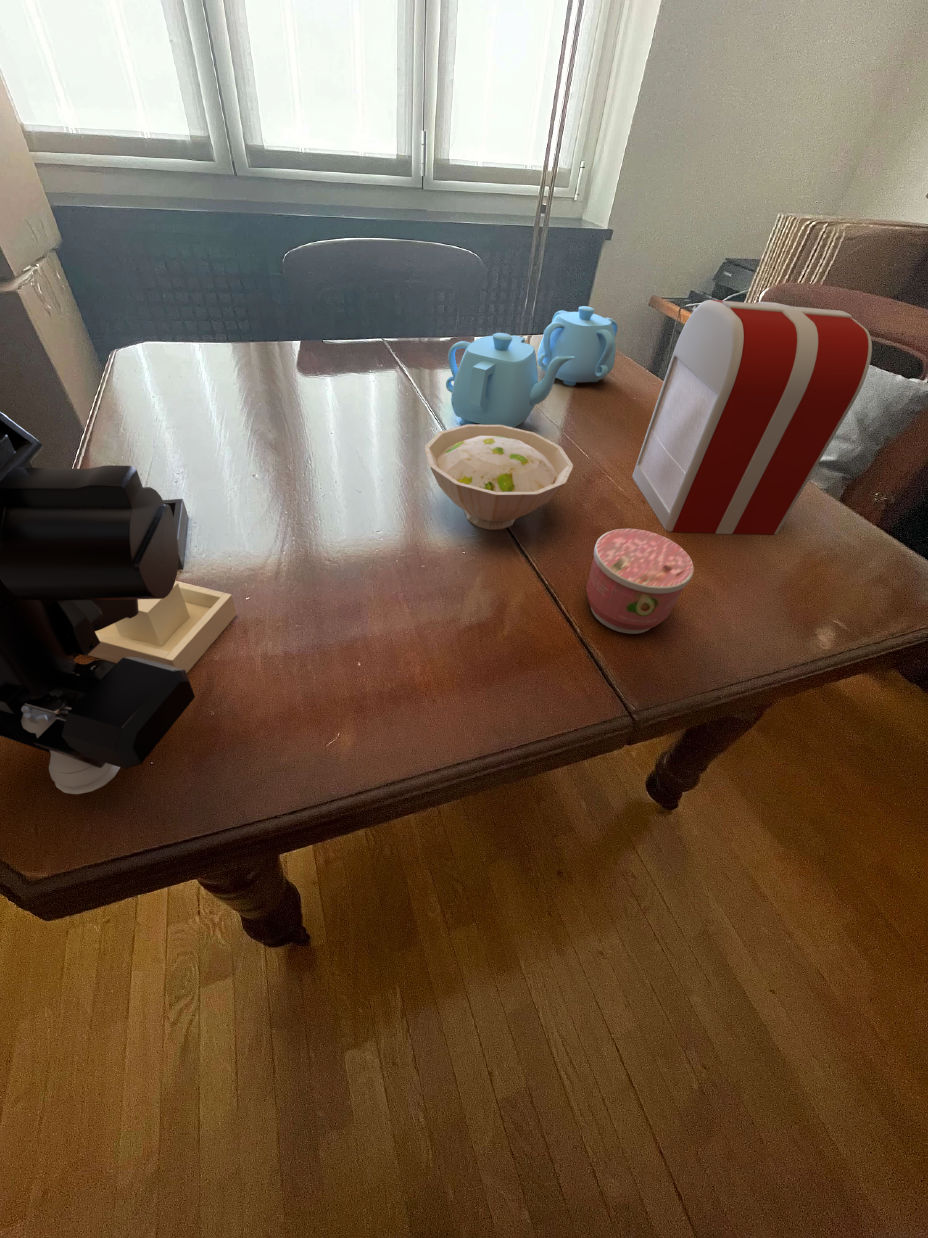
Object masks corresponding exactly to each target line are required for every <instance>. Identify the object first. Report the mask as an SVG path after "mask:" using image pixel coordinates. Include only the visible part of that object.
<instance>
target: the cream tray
mask: <svg viewBox="0 0 928 1238" xmlns="http://www.w3.org/2000/svg"><path fill="white" fill-rule="evenodd" d="M175 582H176V583H178V584H179V587H180V590H181V593H182V596H183V598H184V601H185V604H186V607H187V610H188V613H189V616H190V617H189V618H188V619H187V620H186V621H185V622H184V623H183V624H182V626H181V627H180V628H179V629H178V630H177V631H176V632H175V633H174V634H173V635H172V636H171V637H170V638H169V639H168V640H167V641H166V642H165V644H164V645H163V646H162V647H161V646H157V645H154V644H150V643H146V642H142V641H139V640H135V639H131V638H127V637H124V636H120V634H119V632H118V630H117V628H116V626H115V624H112V625H109V626H107V627H105V628H103V629H101V630H98V631H95V633H96V635H97V637H98V639H99V641H100V644H99V645H98V646H96V647H95V648H94V649H93V650H92V651H91V652H90V653H89V654H88V655H87V656H90V657H93V658H97V659H99V660H105V661H108V662H112V663H115V664H117V663H118V662H119V661H120V660H121V659H122V658H123V657H140V658H143V659H147V660H151V661H154V662H158V663H162V664H165V665H169V666H173V667H176V668H180V669H184V670H186V673H187V674H188V673H189V671H190V670H191V669H192V668H193V667H194V666H195V664H197V662H198V661H199V659H201V658H202V656H203V655H204V654H205V653H206V652H207V650H208V649H209V648H210V647H211V646H212V644H213V643H214V642H215V641H216V640H217V639H218V638H219V636H220V635H221V634H222V633H223V631H224V630H225V629H226V628H227V627H228V626H229V625H230V624H231V622H232V621H233V620H234V618H235V617H236V616H238V613H237V610H236V606H235V603H234V602H235V601H234V598H233V594H231V593H227V592H223V591H218V590H214V589H211V588H206V587H202V586H198V585H194V584H190V583H187V582H182V581H178V580H175Z"/></svg>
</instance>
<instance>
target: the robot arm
mask: <svg viewBox="0 0 928 1238" xmlns="http://www.w3.org/2000/svg"><path fill="white" fill-rule="evenodd" d="M43 449H44V448H43V444H42V443H41V442H40V440H38V439H37V438H36V437H34V436H33V435H32V434H31V433H30V432H28V431H26V430H25V429H24V428H22V427H21V426H20V425H19V424H17V423H16V422H15V421H13V420H12V419H11V418H9V416H7V415H6V414H4V413H3V412H1V411H0V737H1V738H4V739H7V740H11V741H13V742H16V743H19V744H22V745H24V746H28V747H31V748H33V749H36V750H39V751H42V752H46V753H48V754H51V752H50V750H51V751H54V752H57V753H60V754H62V755H65V756H68V757H70V758H73V759H76V760H78V761H81V762H84V763H86V764H89V765H92V766H94V767H97V768H102V767H103V766H104V765H105V763H107V764H111V765H114V766H117V767H120V769H125V770H129V769H132V768H134V767H137V766H140V765H142V764H143V763H144V762H145V760H146V759H147V758H148V757H149V756H150V754H151V753H152V752H153V751H154V749H155V748H156V747H157V746H158V744H159V743H160V742H161V741H162V739H163V738H164V737H165V736H166V734H167V733H168V732H169V731H170V729H171V728H172V727H173V725H174V724H175V723H176V722H177V721H178V719H179V718H180V717H181V716H182V714H183V713H184V712H185V710H186V709H187V708H188V707H189V706H190V705H191V703H192V702H193V701H194V699H195V698H196V695H195V692H194V688H193V686H192V684H191V681H190V678H189V676H188V673H186V670H184V669H180V668H176V667H173V666H169V665H165V664H162V663H158V662H154V661H151V660H147V659H143V658H140V657H123V658H122V659H121V660H120V661H119V662H118V663H115V662H111V661H107V660H104V659H95V660H91V661H89V662H87V663H80V662H76V658H77V657H79V656H80V655H81V656H85V657H86V656H89V655H88V654H89V653H90V652H91V651H92V650H93V649H94V648H95V647H96V646H98V645H99V644H100V641H99V639H98V637H97V635H96V633H95V631H98V630H101V629H103V628H105V627H107V626H109V625H112V624H114V623H116V622H118V621H120V620H122V619H124V618H132V617H134V616H136V615H137V614H138V613H139V609H138V599H164V598H165V597H167V596H168V595H169V593H170V592H171V590H172V589H173V586H174V583H175V581H176V580H177V575H178V570H179V569H178V537H177V531H176V525H175V521H174V517H173V514H172V511H171V508H170V506H169V505H165V503H164V501H163V500H164V499H163V497H162V496H161V494H159V492H158V491H157V490H156V489H154V488H153V487H151V486H143V483H142V481H141V478H140V475H139V472H138V470H137V468H135V467H133V466H132V465H117V464H115V465H99V466H95V467H91V468H70V467H68V468H67V467H33V465H32V462H33V461H34V460H35V459H36V458H37V457H38V455H39V454H40V453H41V452H42V451H43ZM23 706H27V707H30V708H33V709H37V710H40V711H44V712H47V713H50V714H54V715H55V717H56V720H55V721H54V722H53V723H52V724H51V725H50V726H49V727H48V728H47V729H46V730H45V731H44V732H43V733H42V734H41V735H40V736H39V737H38V738H37V736H36V733H31V732H29V731H27V730H26V729H24V728H23V726H22V723H21V720H22V716H23V712H22V711H21V709H22V707H23Z"/></svg>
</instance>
